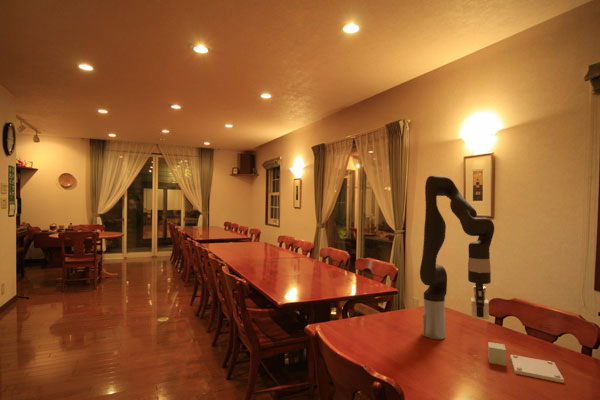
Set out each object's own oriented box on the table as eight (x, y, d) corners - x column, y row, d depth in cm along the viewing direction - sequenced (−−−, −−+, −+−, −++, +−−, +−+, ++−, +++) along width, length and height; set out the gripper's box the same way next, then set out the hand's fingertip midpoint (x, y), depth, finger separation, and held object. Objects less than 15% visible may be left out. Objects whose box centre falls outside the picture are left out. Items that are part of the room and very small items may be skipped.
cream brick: (471, 317, 120) (471, 301, 121) (471, 313, 125) (471, 297, 126) (488, 319, 118) (488, 303, 118) (488, 315, 123) (487, 299, 123)
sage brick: (489, 362, 124) (488, 347, 124) (488, 356, 129) (488, 341, 129) (506, 366, 121) (506, 350, 122) (504, 359, 126) (504, 344, 127)
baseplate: (515, 373, 116) (515, 368, 116) (510, 357, 128) (510, 353, 128) (564, 383, 109) (563, 378, 109) (554, 365, 122) (553, 361, 122)
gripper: (468, 266, 130) (468, 307, 130) (468, 272, 118) (468, 318, 117) (489, 267, 127) (490, 310, 126) (491, 274, 114) (492, 321, 114)
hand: (479, 314), depth 122 cm, fingers closed on cream brick, 5 cm apart
